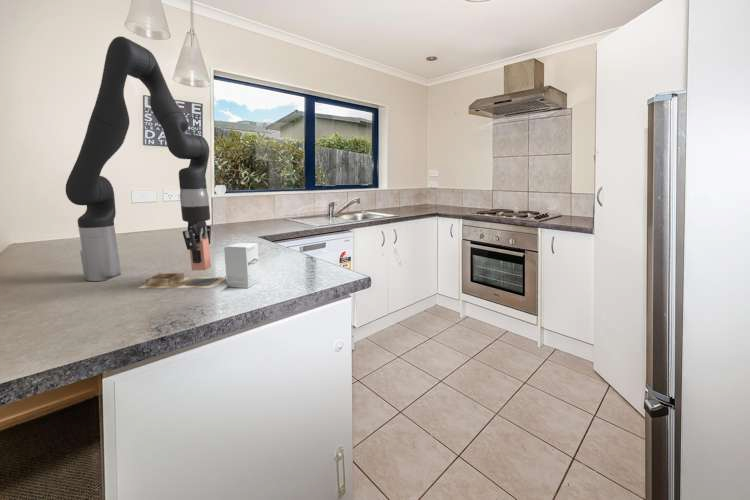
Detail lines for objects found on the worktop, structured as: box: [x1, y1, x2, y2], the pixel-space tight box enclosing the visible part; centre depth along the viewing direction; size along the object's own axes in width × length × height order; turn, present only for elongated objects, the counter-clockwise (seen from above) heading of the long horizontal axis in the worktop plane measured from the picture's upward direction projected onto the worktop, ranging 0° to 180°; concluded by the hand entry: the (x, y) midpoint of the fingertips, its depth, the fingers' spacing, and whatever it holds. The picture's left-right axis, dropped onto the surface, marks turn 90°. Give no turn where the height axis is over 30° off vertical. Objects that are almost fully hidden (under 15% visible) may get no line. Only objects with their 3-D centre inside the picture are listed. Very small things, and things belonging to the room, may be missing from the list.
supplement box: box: [223, 242, 261, 289], centre depth 111 cm, size 7×7×13 cm
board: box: [137, 272, 226, 289], centre depth 111 cm, size 22×11×3 cm, turn 92°
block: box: [189, 238, 212, 271], centre depth 109 cm, size 4×4×9 cm
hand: (200, 260), depth 110 cm, fingers closed on block, 4 cm apart
